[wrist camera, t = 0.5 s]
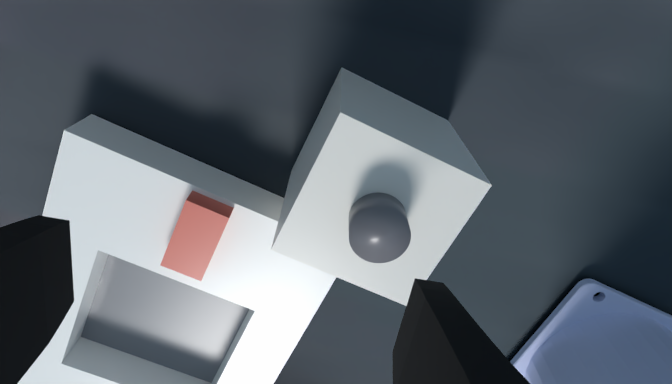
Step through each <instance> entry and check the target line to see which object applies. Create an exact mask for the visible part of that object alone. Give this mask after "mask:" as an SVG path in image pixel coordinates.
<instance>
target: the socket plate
mask: <svg viewBox="0 0 672 384" xmlns="http://www.w3.org/2000/svg"><path fill="white" fill-rule="evenodd" d="M283 201H284V198H283V197H281V196H278V195H276V194H274V193H271V192H269V191H267V190H265V189H262V188H260V187H258V186H255V185H253V184H251V183H249V182H246V181H244V180H242V179H239V178H237V177H235V176H233V175H230V174H228V173H226V172H223V171H221V170H219V169H216V168H214V167H212V166H210V165H207V164H205V163H203V162H200V161H198V160H196V159H194V158H191V157H189V156H187V155H184V154H182V153H180V152H178V151H175V150H173V149H171V148H168V147H166V146H164V145H162V144H159V143H157V142H155V141H152V140H150V139H148V138H146V137H143V136H141V135H139V134H136V133H134V132H132V131H130V130H127V129H125V128H123V127H120V126H118V125H116V124H114V123H111V122H109V121H107V120H104V119H102V118H100V117H98V116H95V115H93V114H91V115H89V116H87V117H86V118H84V119H82V120H81V121H79V122H77V123H75V124H74V125H72V126H70V127H69V128H67V129H65V130H64V132H63V136H62V140H61V144H60V148H59V152H58V156H57V160H56V164H55V167H54V171H53V175H52V179H51V183H50V187H49V191H48V195H47V199H46V203H45V207H44V211H43V215H42V216H46V217H52V218H58V219H64V220H69V221H70V238H71V255H72V272H73V290H74V302H73V304H72V306H71V308H70V309H69V311H68V313H67V314H66V316H65V318H64V320H63V321H62V323H61V325H60V326H59V328H58V330H57V331H56V333H55V334H54V336H53V338H52V339H51V341H50V342H49V344H48V345H47V347H46V348H45V349H44V350H43V352H42V353H41V354H40V356H39V357H38V358H37V359H36V361H35V362H34V363H33V364H32V366H31V367H30V368H29V369H28V371H27V372H26V373H25V375H24V376H23V377H22V378H21V380H20V381H19V382H18V383H17V384H274V382H275V380H276V379H277V377H278V375H279V374H280V372H281V370H282V368H283V367H284V365H285V363H286V362H287V360H288V358H289V357H290V355H291V353H292V352H293V350H294V348H295V346H296V345H297V343H298V341H299V340H300V338H301V336H302V335H303V333H304V331H305V330H306V328H307V326H308V324H309V323H310V321H311V319H312V318H313V316H314V314H315V313H316V311H317V309H318V308H319V306H320V304H321V302H322V301H323V299H324V297H325V296H326V294H327V292H328V291H329V289H330V287H331V286H332V284H333V282H334V280H335V279H336V277H335V276H333V275H331V274H328V273H326V272H323V271H321V270H318V269H316V268H314V267H311V266H309V265H306V264H304V263H302V262H299V261H297V260H294V259H292V258H290V257H287V256H285V255H282V254H280V253H277V252H275V251H273V250H271V248H272V244H273V240H274V236H275V232H276V228H277V224H278V221H279V217H280V213H281V209H282V205H283Z"/></svg>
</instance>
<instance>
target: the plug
mask: <svg viewBox="0 0 672 384" xmlns="http://www.w3.org/2000/svg"><path fill="white" fill-rule="evenodd" d="M491 186H492V185H491V183H490V182H489V180H488V179H487V177H486V176H485V174H484V173H483V171H482V170H481V168H480V167H479V165H478V164H477V162H476V161H475V159H474V158H473V157H472V155H471V154H470V152H469V151H468V149H467V148H466V146H465V145H464V143H463V142H462V140H461V139H460V137H459V136H458V134H457V133H456V131H455V130H454V128H453V127H452V125H451V124H450V122H449V121H448V120H446V119H444V118H442V117H440V116H438V115H436V114H434V113H432V112H430V111H428V110H426V109H424V108H422V107H420V106H418V105H416V104H414V103H412V102H410V101H408V100H406V99H404V98H402V97H400V96H398V95H396V94H394V93H392V92H390V91H388V90H386V89H384V88H382V87H380V86H378V85H376V84H374V83H372V82H370V81H368V80H366V79H364V78H362V77H360V76H358V75H356V74H354V73H352V72H350V71H348V70H346V69H344V68H342V67H341V69H340V71H339V73H338V76H337V78H336V80H335V82H334V84H333V86H332V88H331V90H330V92H329V94H328V96H327V98H326V100H325V102H324V104H323V106H322V108H321V111H320V113H319V115H318V117H317V119H316V121H315V123H314V125H313V127H312V129H311V131H310V133H309V135H308V137H307V139H306V141H305V143H304V146H303V148H302V150H301V152H300V154H299V156H298V158H297V160H296V162H295V164H294V166H293V168H292V170H291V174H290V178H289V182H288V186H287V190H286V194H285V197H284V201H283V205H282V209H281V213H280V217H279V221H278V224H277V228H276V232H275V236H274V240H273V244H272V248H271V250H273V251H275V252H277V253H280V254H282V255H285V256H287V257H290V258H292V259H294V260H297V261H299V262H302V263H304V264H306V265H309V266H311V267H314V268H316V269H318V270H321V271H323V272H326V273H328V274H331V275H333V276H335V277H338V278H340V279H343V280H345V281H347V282H350V283H352V284H355V285H357V286H359V287H362V288H364V289H367V290H369V291H372V292H374V293H376V294H379V295H381V296H384V297H386V298H388V299H391V300H393V301H396V302H398V303H401V304H403V305H405V306H407V303H408V300H409V296H410V293H411V290H412V286H413V283H414V280H415V278H416V279H422V280H427V278H428V277H429V276H430V274H431V273H432V271H433V270H434V268H435V267H436V265H437V264H438V263H439V261H440V260H441V258H442V257H443V255H444V254H445V252H446V251H447V249H448V248H449V247H450V245H451V244H452V242H453V241H454V239H455V238H456V236H457V235H458V234H459V232H460V231H461V229H462V228H463V226H464V225H465V223H466V222H467V221H468V219H469V218H470V216H471V215H472V213H473V212H474V210H475V209H476V207H477V206H478V205H479V203H480V202H481V200H482V199H483V197H484V196H485V194H486V193H487V192H488V190H489V189H490V187H491Z"/></svg>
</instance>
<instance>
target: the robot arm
mask: <svg viewBox="0 0 672 384" xmlns="http://www.w3.org/2000/svg"><path fill="white" fill-rule="evenodd" d="M598 292H600V294H599V295H597V296H594V294H596V293H598ZM73 302H74V290H73V272H72V255H71V238H70V221H69V220H64V219H58V218H52V217H46V216H40V215H39V216H35V217H31V218H28V219H24V220H21V221H18V222H15V223H12V224H9V225H6V226H3V227H1V228H0V384H17V383H18V382H19V381H20V380H21V378H22V377H23V376H24V375H25V373H26V372H27V371H28V369H29V368H30V367H31V366H32V364H33V363H34V362H35V361H36V359H37V358H38V357H39V356H40V354H41V353H42V352H43V350H44V349H45V348H46V347H47V345H48V344H49V342H50V341H51V339H52V338H53V336H54V334H55V333H56V331H57V330H58V328H59V326H60V325H61V323H62V321H63V320H64V318H65V316H66V314H67V313H68V311H69V309H70V308H71V306H72V304H73ZM393 384H672V315H669V314H667V313H665V312H663V311H661V310H659V309H656V308H654V307H652V306H650V305H648V304H646V303H643V302H641V301H639V300H637V299H635V298H633V297H630V296H628V295H626V294H624V293H622V292H620V291H617V290H615V289H613V288H611V287H609V286H607V285H604V284H602V283H600V282H598V281H596V280H594V279H583V280H581V281H579V282H578V283H577V284H576V285H575V286H574V287H573V289H572V290H571V291H570V292H569V293H568V294H567V296H566V297H565V298H564V299H563V300H562V301H561V303H560V304H559V305H558V306H557V307H556V308H555V310H554V311H553V312H552V313H551V314H550V315H549V317H548V318H547V319H546V320H545V321H544V322H543V324H542V325H541V326H540V327H539V328H538V329H537V331H536V332H535V333H534V334H533V335H532V336H531V338H530V339H529V340H528V341H527V342H526V343H525V345H524V346H523V347H522V348H521V349H520V350H519V352H518V353H517V354H516V355H515V356H514V357H513V359H512V360H511V361H509V360H508V359H507V358H506V357H505V356H504V355H503V354H502V352H501V351H500V350H499V349H498V348H497V347H496V346H495V344H494V343H493V342H492V341H491V340H490V339H489V337H488V336H487V335H486V334H485V333H484V331H483V330H482V329H481V328H480V327H479V325H478V324H477V323H476V322H475V321H474V319H473V318H472V317H471V316H470V315H469V313H468V312H467V311H466V310H465V308H464V307H463V306H462V305H461V304H460V302H459V301H458V300H457V299H456V297H455V296H454V295H453V294H452V293H451V291H450V290H449V289H448V288H447V287H446V286H445V285H444V283H440V282H434V281H428V280H422V279H416V278H415V280H414V283H413V286H412V290H411V293H410V296H409V300H408V303H407V306H406V309H405V313H404V316H403V319H402V323H401V326H400V329H399V332H398V336H397V339H396V342H395V346H394V349H393Z"/></svg>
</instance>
